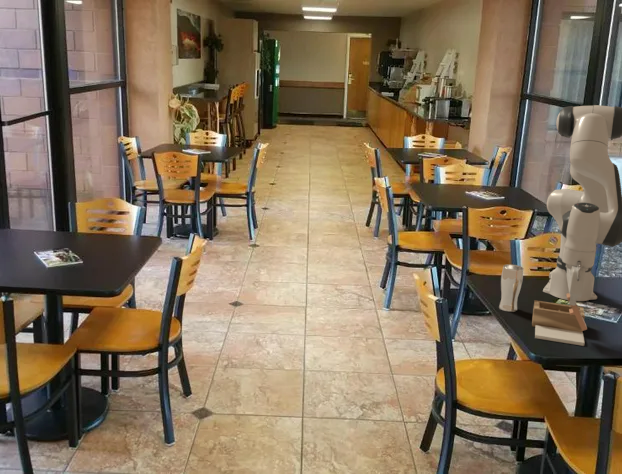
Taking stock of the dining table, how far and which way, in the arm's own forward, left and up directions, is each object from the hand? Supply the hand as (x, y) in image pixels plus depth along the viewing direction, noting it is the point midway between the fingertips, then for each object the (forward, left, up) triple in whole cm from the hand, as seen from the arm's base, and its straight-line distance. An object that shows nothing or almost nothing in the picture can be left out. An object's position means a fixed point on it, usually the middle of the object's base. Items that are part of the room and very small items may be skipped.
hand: (571, 301), depth 198 cm
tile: (0, +1, -3) cm, 3 cm away
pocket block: (-10, -3, -12) cm, 16 cm away
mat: (0, -2, -12) cm, 12 cm away
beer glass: (-20, -18, -12) cm, 29 cm away
